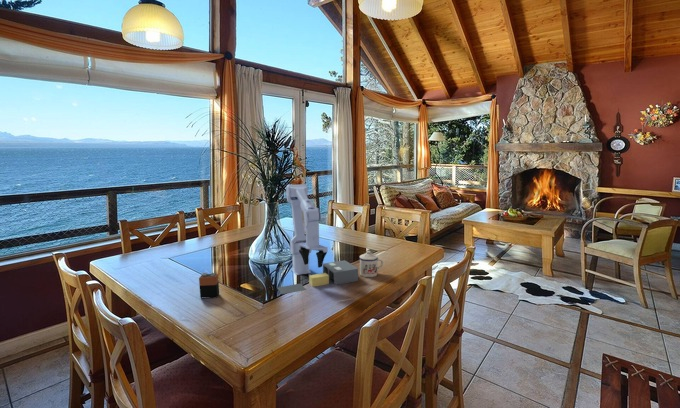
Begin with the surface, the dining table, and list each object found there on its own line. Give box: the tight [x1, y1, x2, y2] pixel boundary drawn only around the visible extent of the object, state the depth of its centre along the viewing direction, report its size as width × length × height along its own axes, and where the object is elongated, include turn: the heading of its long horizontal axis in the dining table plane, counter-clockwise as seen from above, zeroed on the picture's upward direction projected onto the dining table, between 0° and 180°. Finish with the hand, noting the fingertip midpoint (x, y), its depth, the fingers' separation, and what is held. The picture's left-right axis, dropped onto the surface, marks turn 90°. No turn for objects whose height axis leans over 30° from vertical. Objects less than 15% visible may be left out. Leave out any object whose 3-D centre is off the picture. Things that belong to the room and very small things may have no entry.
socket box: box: [322, 259, 359, 285], centre depth 164 cm, size 14×12×6 cm
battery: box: [198, 272, 220, 298], centre depth 144 cm, size 4×7×10 cm, turn 96°
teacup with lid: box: [358, 250, 384, 278], centre depth 168 cm, size 12×9×12 cm
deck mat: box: [276, 283, 307, 295], centre depth 151 cm, size 8×11×1 cm
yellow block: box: [308, 272, 330, 288], centre depth 156 cm, size 4×8×4 cm, turn 115°
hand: (313, 265), depth 154 cm, fingers open, 7 cm apart
